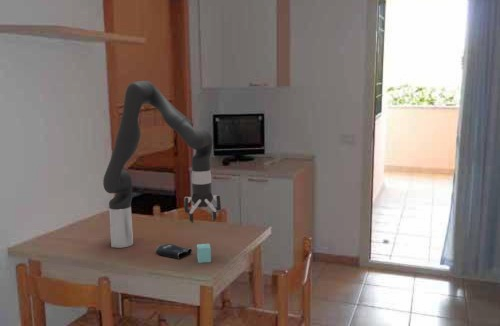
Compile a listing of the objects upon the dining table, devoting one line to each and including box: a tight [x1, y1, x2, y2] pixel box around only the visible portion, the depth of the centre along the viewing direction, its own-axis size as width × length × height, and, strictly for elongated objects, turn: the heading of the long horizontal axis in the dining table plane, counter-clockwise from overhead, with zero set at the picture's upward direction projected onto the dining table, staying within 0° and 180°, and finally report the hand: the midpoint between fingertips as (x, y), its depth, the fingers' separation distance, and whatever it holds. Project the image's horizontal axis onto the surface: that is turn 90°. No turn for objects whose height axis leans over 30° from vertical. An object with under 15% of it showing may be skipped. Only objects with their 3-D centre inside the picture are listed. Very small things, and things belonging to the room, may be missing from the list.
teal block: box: [196, 243, 212, 264], centre depth 199 cm, size 5×5×6 cm
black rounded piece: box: [155, 243, 193, 260], centre depth 208 cm, size 9×6×15 cm
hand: (203, 221), depth 197 cm, fingers open, 8 cm apart
